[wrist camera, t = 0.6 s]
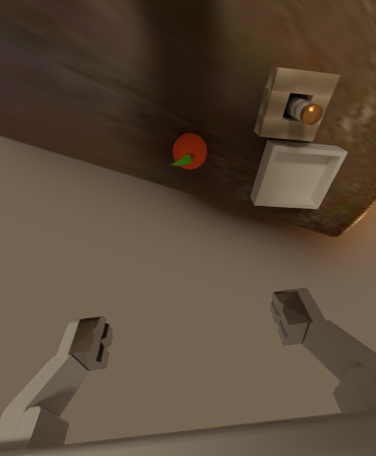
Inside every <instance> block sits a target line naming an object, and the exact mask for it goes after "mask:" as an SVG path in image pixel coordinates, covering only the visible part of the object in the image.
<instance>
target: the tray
mask: <svg viewBox="0 0 376 456" xmlns="http://www.w3.org/2000/svg"><path fill="white" fill-rule="evenodd" d="M347 153H348V152H347V151H345V150H343V149H341V148H340V147H338V146H333V145H322V144H311V143H300V142H288V141H277V140H267V143H266V146H265V149H264V152H263V156H262V159H261V162H260V166H259V169H258V172H257V176H256V179H255V182H254V185H253V189H252V192H251V195H250V198H251V200H252V202H253V203H254V205H255V206H272V207H290V208H308V209H318V208H319V206H320V204H321V202H322V200H323V198H324V196H325V194H326V193H327V191H328V189H329V187H330V185H331V183H332V181H333V179H334V177H335V176H336V174H337V172H338V170H339V168H340V166H341V164H342V162H343V160H344V158H345V157H346V155H347Z"/></svg>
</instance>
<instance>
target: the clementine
mask: <svg viewBox="0 0 376 456" xmlns="http://www.w3.org/2000/svg"><path fill="white" fill-rule="evenodd" d="M206 156H207V146H206V143H205V142H204V140H203V139H202V138H201V137H200V136H199V135H196V134H193V133H186V134H183V135H181V136H180V137H179V138H178V139H177V140H176V141H175V144H174V146H173V157H174V159H175V161H176V162H175V163H173V164H171V165H174V166H180V167H182V168H184V169H195V168H198V167H199V166H201V165H202V164H203V162H204V161H205V159H206Z"/></svg>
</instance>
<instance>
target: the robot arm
mask: <svg viewBox="0 0 376 456" xmlns="http://www.w3.org/2000/svg"><path fill="white" fill-rule="evenodd" d="M272 299H273V301H272V302H271V313H272V316H273V319H274V321H275V323H277V324H278V325H279V329H278V332H279V335H280V337H281V340H282V342H283V345H292V344H302V343H303V345H304V346H305V347H306V348H307V349H308V350H309V351H310V352H311V353H312V354H313V355H314V356H315V357H316V358H317V359H318V360H319V361H320V362H321V363H322V364H323V365H324V366H325V367H326V368H327V369H329V370H330V371H331V372H332V373H333V374H334V375H335V376H336V377H337V378H338V379H339V380H340V383H339V384H338V386H337V387H336V388H335V390H334V392H333V395H334V397H335V399H336V401H337V403H338V406H339V408H340V410H341V412H342V413H336V414H327V415H318V416H309V417H300V418H292V419H284V420H275V421H266V422H257V423H248V424H239V425H230V426H222V427H214V428H205V429H196V430H187V431H179V432H170V433H161V434H152V435H144V436H134V437H126V438H117V439H108V440H99V441H91V442H82V443H73V444H64V442H65V438H66V435H67V431H68V426H69V423H68V422H67V421H66V420H64V419H62V418H60V417H59V416H60V415H61V413H62V412H63V410H64V409H65V407H66V406H67V404H68V403H69V401H70V400H71V398H72V397H73V395H74V394H75V392H76V391H77V389H78V388H79V386H80V385H81V383H82V382H83V380H84V379H85V377H86V376H87V374H88V373H89V371H91V370H98V369H104V368H106V367H107V362H108V357H109V352H108V350H107V348H108V347H109V346H110V345H111V342H112V329H111V326H110V325H109V324H107V323H105V322H106V319H105V318H104V317H103V316H100V317H93V318H85V319H77V320H72V321H70V323H69V324H68V326H67V329H66V332H65V334H64V337H63V340H62V342H61V345H60V347H59V350H58V353H57V356H55V357H53V358H52V359H51V360H50V361H49V362H48V363H47V364H46V365H45V366H44V367H43V368H42V370H41V371H40V372H39V373H38V374H37V375H36V376H35V377H34V378H33V379H32V380H31V381H30V383H29V384H28V385H27V386H26V387H25V388H24V389H23V390H22V391H21V392H20V393H19V395H18V396H17V397H16V398H15V399H14V400H13V401H12V402H11V403H10V404H9V405H8V406H7V408H6V409H5V410H4V413H3V415H2V417H1V419H0V456H376V353H375V352H374V351H372V350H371V349H370V348H368V347H367V346H365V345H364V344H362V343H361V342H359V341H358V340H357V339H355V338H354V337H352V336H351V335H350V334H348V333H347V332H345V331H344V330H343V329H341V328H340V327H338V326H337V325H335V324H334V323H333V322H331V321H326V320H325V318H324V316H323V314H322V313H321V311H320V309H319V307H318V306H317V304H316V302H315V301H314V299H313V297H312V295H311V294H310V292H309V290H308V289H306V288H300V289H291V290H284V291H279V292H273V293H272Z"/></svg>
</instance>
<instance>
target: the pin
mask: <svg viewBox="0 0 376 456" xmlns="http://www.w3.org/2000/svg"><path fill="white" fill-rule="evenodd" d="M284 112H285V113H287V114H289V115H291V116H292V117H294V118H296V119H298V120H300V121H302V122H303V123H305V124H307V125H314V124H316V123H317V122H318V121H319V120H320V119H321V117H322V115H323V109H322V107H321V106H319V105H317V104H314V103H311V102H309V101H306V100H303V99H301V98H298V97H295V96H293V95H289V98H288V101H287V104H286V107H285V111H284Z"/></svg>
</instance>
